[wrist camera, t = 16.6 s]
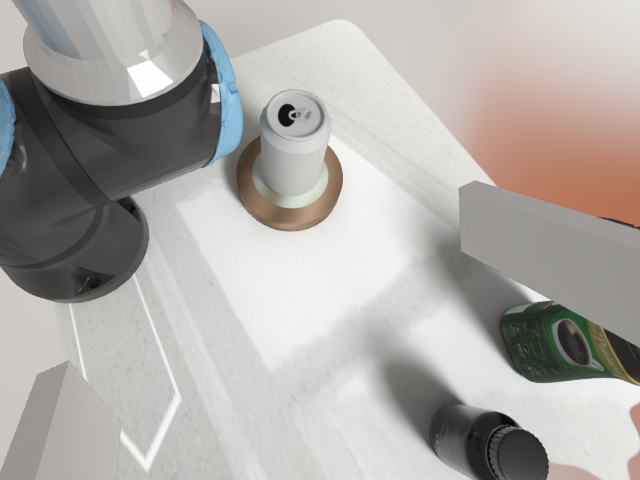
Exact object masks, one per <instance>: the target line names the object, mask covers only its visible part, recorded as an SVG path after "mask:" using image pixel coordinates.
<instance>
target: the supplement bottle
mask: <svg viewBox="0 0 640 480" xmlns="http://www.w3.org/2000/svg"><path fill="white" fill-rule="evenodd" d="M431 441H432V445H433V447H434V450H435V452H436V453H437V455H438V456H439V458H440V459H441V460H442V461H443V462H444V463H445V464H447V465H448V466H449V467H451V468H453V469H455V470H456V471H458V472H460V473H462V474H463V475H465V476H467V477H469V478H470V479H472V480H546V479H547V474H548V469H549V465H548V462H549V460H548V458H547V453H546V452H545V448H544V447H543V445H542V443H541V442H540V441H539V440H538V438H536V437H535V436H534V435H533V434H531V433H530V432H529V431H526V430H524V429H522V427H521V426H520V425H519V424H518V423H517V422H516V421H515V420H514V419H512V418H511V417H509V416H508V415H506V414H503V413H500V412H497V411H492V410H487V409H482V408H477V407H472V406H467V405H461V404H451V405H447V406H445V407H443V408H442V409H440V410H439V411H438V412H437V414H436V415H435V417H434V419H433V421H432V425H431Z"/></svg>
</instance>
